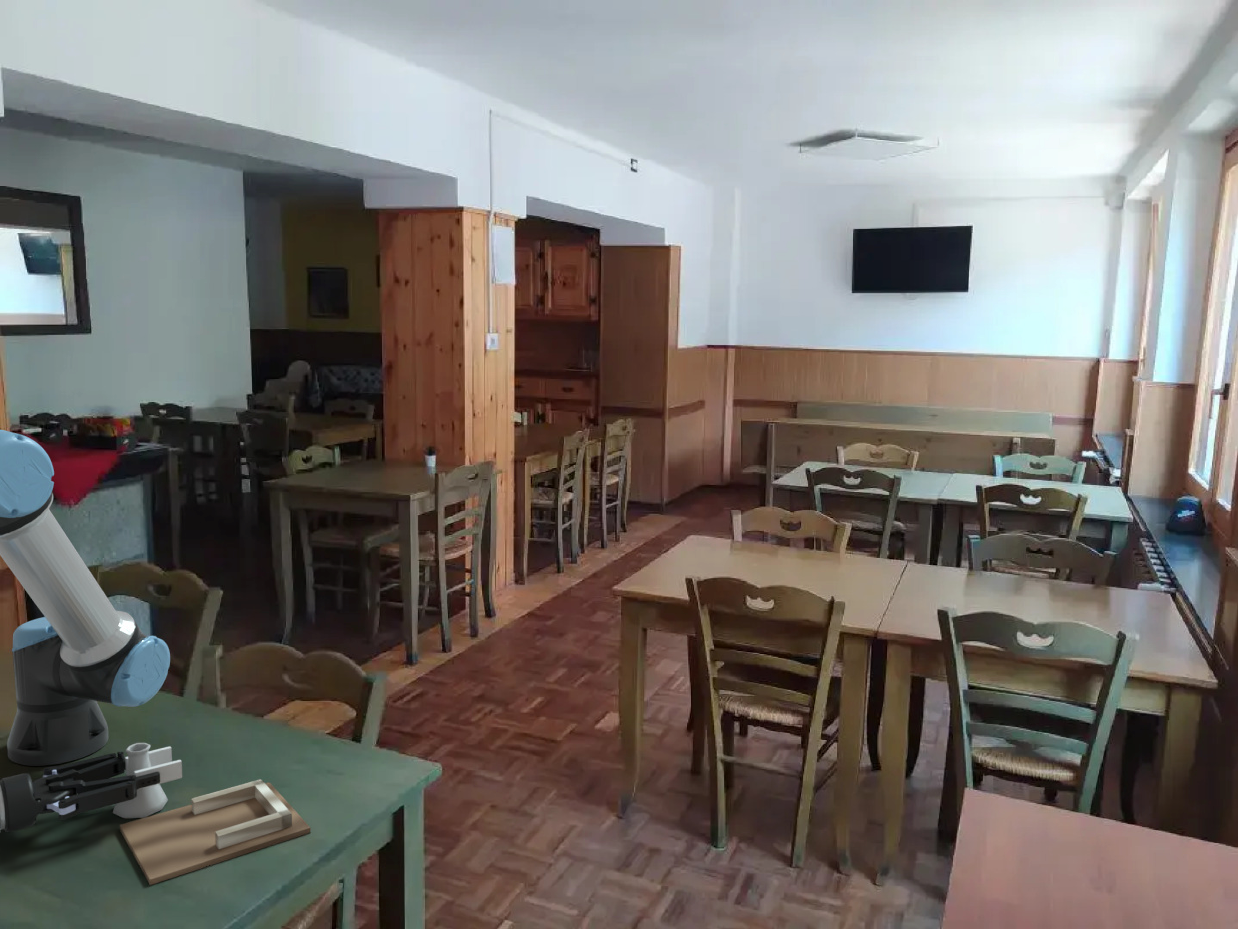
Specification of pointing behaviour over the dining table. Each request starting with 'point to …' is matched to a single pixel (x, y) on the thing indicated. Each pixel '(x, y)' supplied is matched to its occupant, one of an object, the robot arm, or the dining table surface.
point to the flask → (147, 797)
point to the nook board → (212, 830)
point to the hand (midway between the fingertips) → (175, 762)
